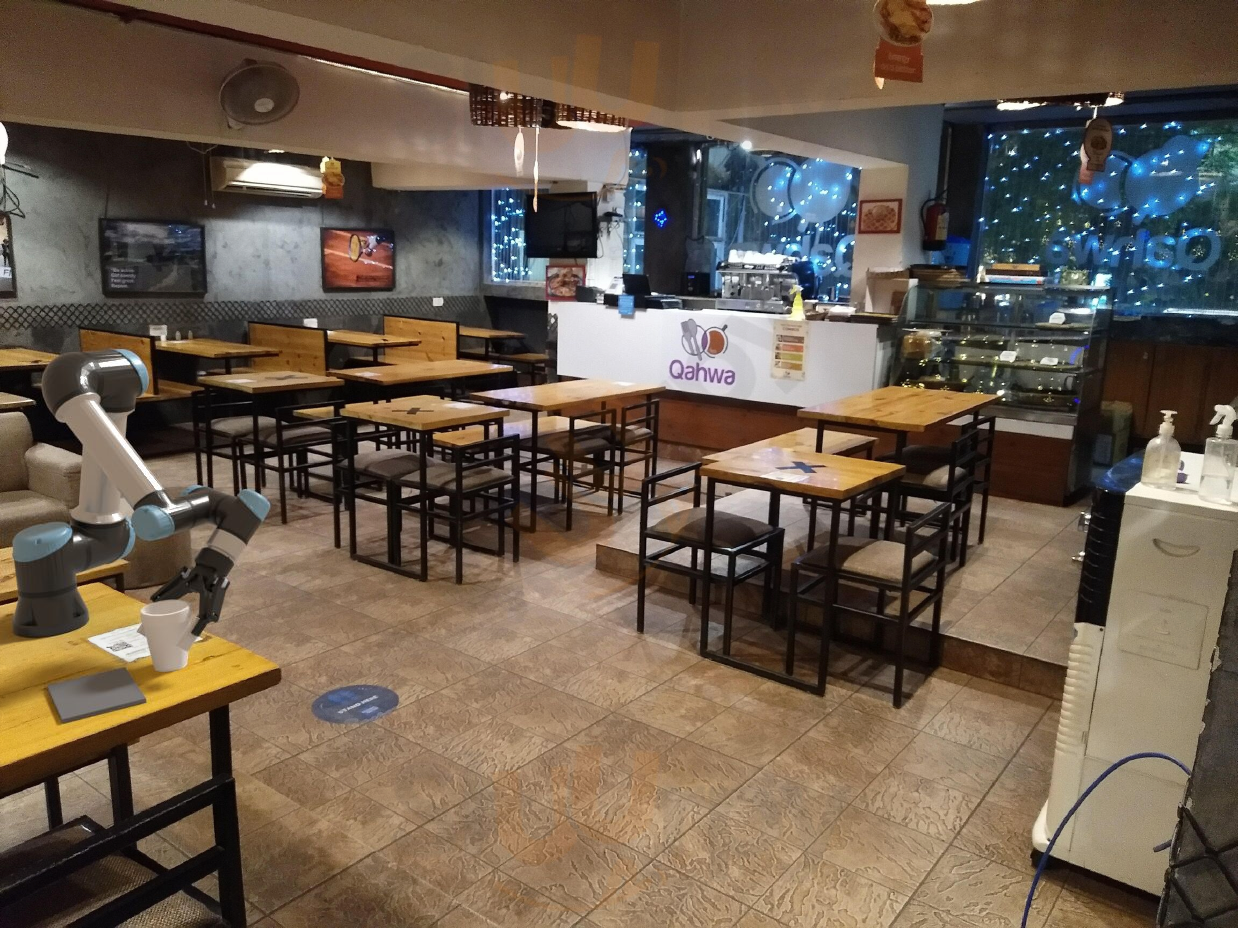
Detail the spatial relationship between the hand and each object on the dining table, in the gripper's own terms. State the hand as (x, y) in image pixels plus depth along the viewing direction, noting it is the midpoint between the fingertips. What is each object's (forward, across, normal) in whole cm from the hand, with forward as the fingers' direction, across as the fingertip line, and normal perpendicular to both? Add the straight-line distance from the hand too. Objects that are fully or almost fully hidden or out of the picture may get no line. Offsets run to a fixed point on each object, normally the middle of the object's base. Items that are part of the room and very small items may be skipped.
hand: (161, 641), depth 188 cm
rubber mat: (+14, 0, +6) cm, 16 cm away
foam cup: (+3, 0, -6) cm, 6 cm away
